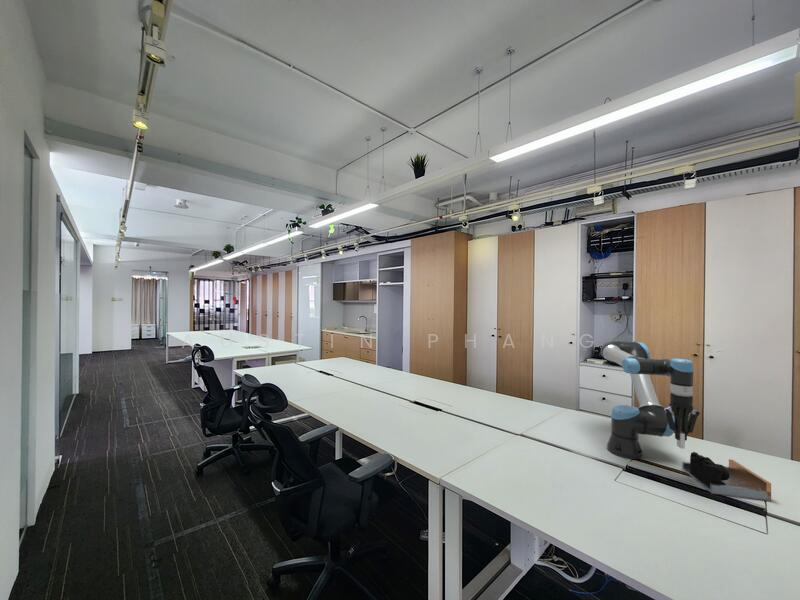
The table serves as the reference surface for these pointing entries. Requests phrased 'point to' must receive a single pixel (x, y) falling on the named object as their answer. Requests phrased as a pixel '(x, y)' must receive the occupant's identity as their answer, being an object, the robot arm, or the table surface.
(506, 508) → the table surface
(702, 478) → the camera
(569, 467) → the table surface
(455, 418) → the table surface
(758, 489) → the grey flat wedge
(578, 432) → the table surface
